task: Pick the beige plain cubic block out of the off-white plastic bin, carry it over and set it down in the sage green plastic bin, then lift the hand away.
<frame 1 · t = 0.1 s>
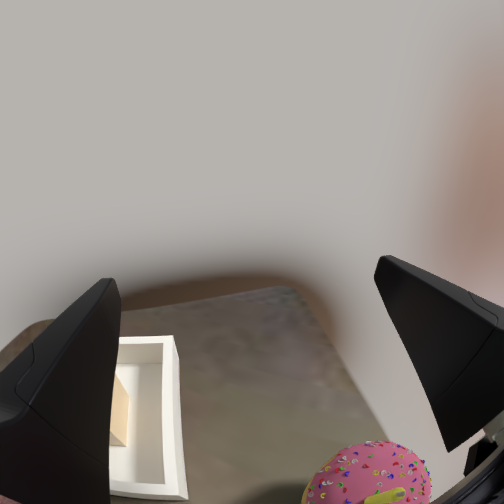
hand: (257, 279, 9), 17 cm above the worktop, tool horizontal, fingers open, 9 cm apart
beige plain cubic block: (101, 418, 17), point 1 cm above the worktop, touching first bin
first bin: (103, 421, 17), on the worktop
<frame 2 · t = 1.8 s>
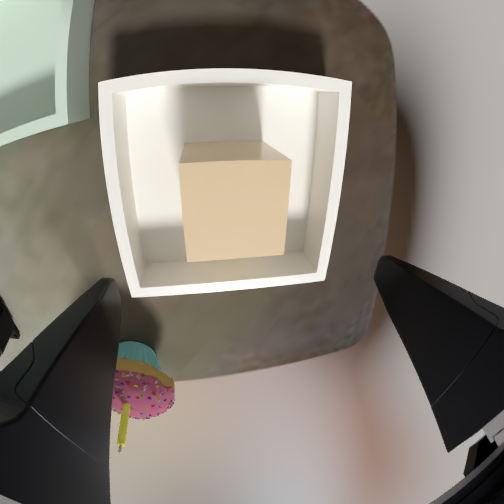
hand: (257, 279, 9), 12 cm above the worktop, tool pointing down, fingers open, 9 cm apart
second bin: (13, 56, 9), on the worktop
beige plain cubic block: (224, 178, 18), point 1 cm above the worktop, touching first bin
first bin: (223, 175, 18), on the worktop
cupcake: (136, 353, 26), on the worktop
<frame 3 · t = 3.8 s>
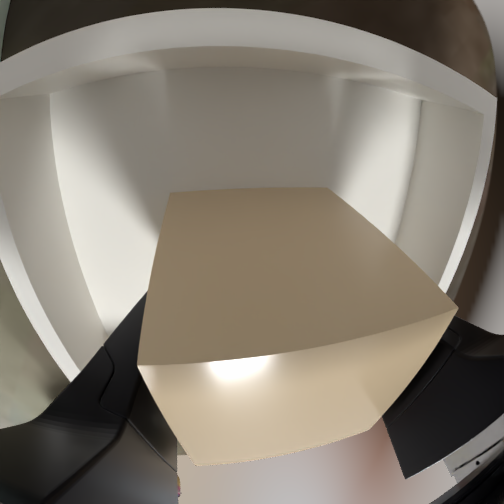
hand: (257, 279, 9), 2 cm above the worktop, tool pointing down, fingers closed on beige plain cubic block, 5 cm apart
beige plain cubic block: (250, 257, 10), point 1 cm above the worktop, touching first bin, gripper
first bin: (247, 248, 10), on the worktop
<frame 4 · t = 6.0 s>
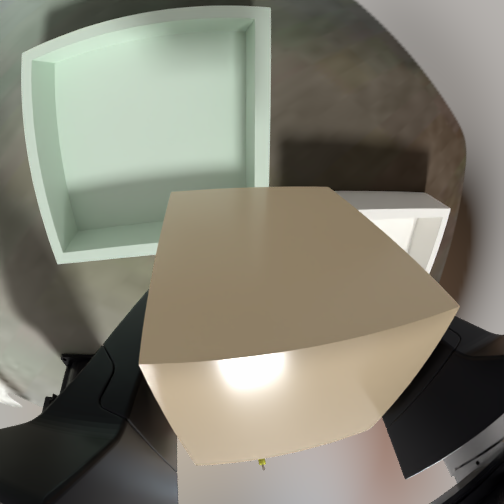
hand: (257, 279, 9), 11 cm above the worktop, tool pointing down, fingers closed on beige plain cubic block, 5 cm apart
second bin: (147, 130, 15), on the worktop
beige plain cubic block: (251, 257, 10), point 10 cm above the worktop, touching gripper
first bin: (352, 263, 24), on the worktop
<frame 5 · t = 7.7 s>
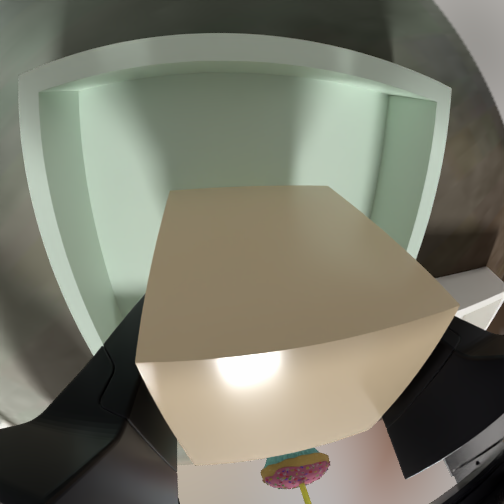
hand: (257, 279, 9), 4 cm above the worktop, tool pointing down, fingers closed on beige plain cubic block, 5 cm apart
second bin: (239, 221, 12), on the worktop
beige plain cubic block: (250, 256, 10), point 3 cm above the worktop, touching gripper
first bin: (415, 337, 21), on the worktop
cupcake: (287, 439, 29), on the worktop
when the fingers open (3 cm above the worktop, at t = 8.7 s): beige plain cubic block drops 1 cm, resting on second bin.
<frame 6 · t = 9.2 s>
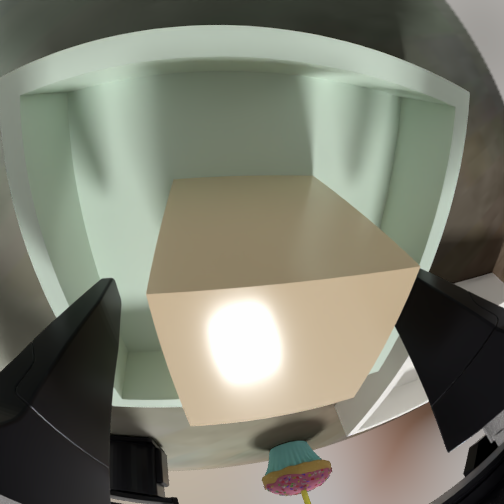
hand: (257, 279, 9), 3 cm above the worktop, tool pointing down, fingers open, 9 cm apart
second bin: (242, 232, 11), on the worktop
beige plain cubic block: (244, 238, 11), point 1 cm above the worktop, touching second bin
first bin: (420, 345, 20), on the worktop
cupcake: (288, 445, 28), on the worktop
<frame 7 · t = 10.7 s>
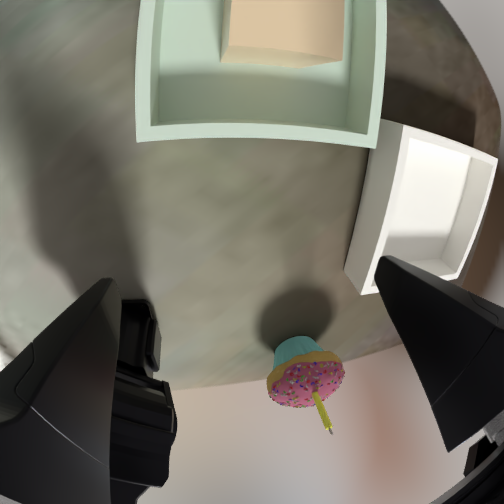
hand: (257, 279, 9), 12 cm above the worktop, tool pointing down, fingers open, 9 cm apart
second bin: (261, 32, 13), on the worktop
beige plain cubic block: (262, 30, 13), point 1 cm above the worktop, touching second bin
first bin: (418, 203, 22), on the worktop
cupcake: (295, 347, 30), on the worktop
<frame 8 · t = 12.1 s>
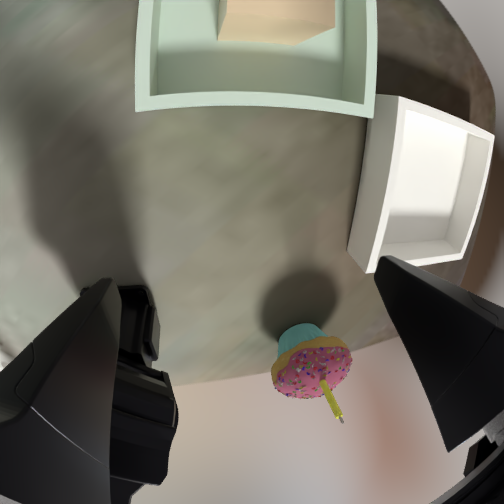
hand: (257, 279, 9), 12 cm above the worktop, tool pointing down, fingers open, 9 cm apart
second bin: (256, 13, 13), on the worktop
beige plain cubic block: (257, 10, 12), point 1 cm above the worktop, touching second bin
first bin: (418, 181, 22), on the worktop
cupcake: (299, 336, 29), on the worktop
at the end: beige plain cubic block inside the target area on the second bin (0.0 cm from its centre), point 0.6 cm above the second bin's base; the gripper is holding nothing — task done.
